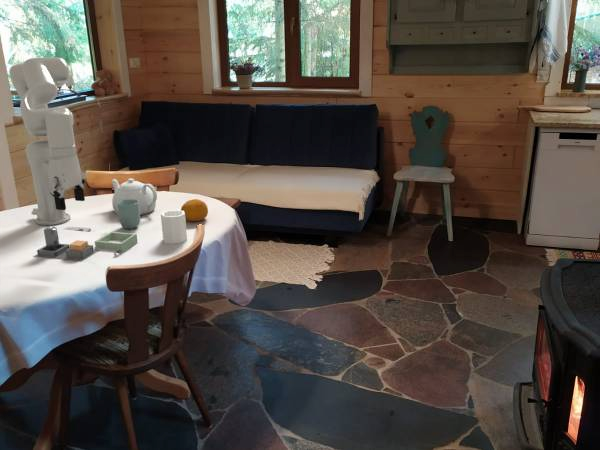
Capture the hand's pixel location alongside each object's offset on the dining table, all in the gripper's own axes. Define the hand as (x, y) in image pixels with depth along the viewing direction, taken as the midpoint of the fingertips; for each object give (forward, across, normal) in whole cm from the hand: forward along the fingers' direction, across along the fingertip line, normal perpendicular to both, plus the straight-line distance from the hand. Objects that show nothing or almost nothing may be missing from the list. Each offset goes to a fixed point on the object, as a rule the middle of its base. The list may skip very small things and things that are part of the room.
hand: (70, 204), depth 178 cm
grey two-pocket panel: (+18, 0, -4) cm, 19 cm away
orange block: (+15, 0, +1) cm, 15 cm away
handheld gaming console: (+19, -17, -16) cm, 30 cm away
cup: (+18, -31, +1) cm, 36 cm away
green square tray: (+18, -12, +7) cm, 23 cm away
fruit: (+18, -45, +21) cm, 53 cm away
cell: (+17, 0, -9) cm, 19 cm away
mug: (+18, -25, +23) cm, 39 cm away
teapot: (+18, -50, -8) cm, 54 cm away
